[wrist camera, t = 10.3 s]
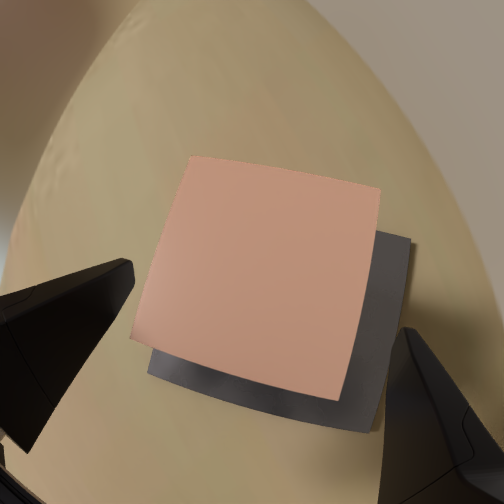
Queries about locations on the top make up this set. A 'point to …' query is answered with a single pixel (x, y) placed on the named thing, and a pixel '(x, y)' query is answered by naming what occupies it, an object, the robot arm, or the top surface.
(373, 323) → the post plate
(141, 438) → the top surface
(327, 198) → the pink-topped tall block
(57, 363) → the robot arm
